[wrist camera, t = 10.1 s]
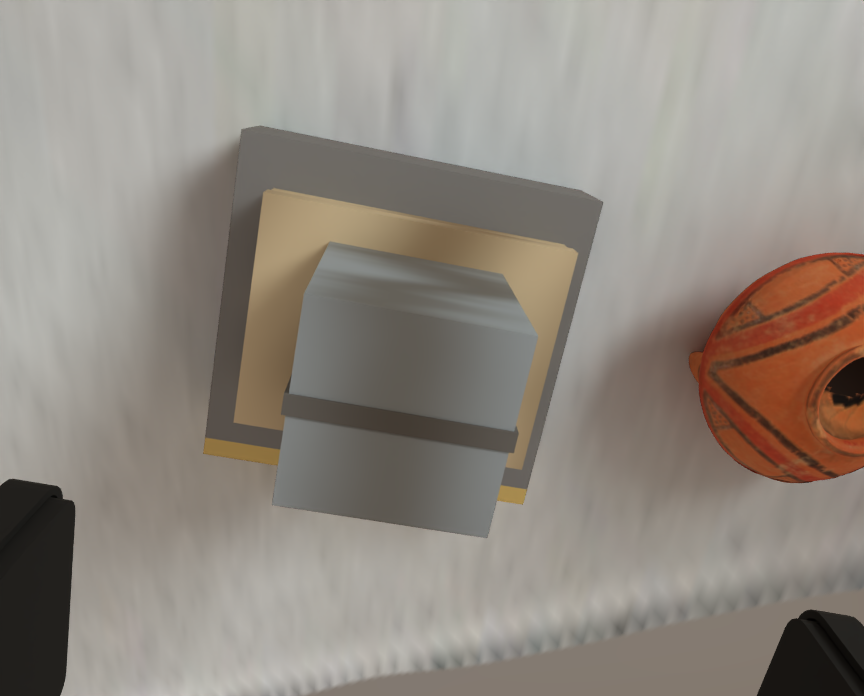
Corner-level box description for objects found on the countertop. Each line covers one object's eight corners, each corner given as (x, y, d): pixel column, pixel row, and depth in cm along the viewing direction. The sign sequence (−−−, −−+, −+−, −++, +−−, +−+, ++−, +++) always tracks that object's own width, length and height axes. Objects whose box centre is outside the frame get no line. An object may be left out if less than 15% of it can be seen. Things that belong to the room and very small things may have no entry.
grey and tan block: (564, 241, 24) (641, 309, 16) (513, 443, 26) (560, 587, 18) (274, 184, 23) (210, 227, 15) (245, 399, 25) (177, 531, 17)
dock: (581, 190, 26) (603, 201, 23) (511, 464, 29) (522, 504, 26) (259, 125, 25) (241, 129, 22) (223, 417, 28) (203, 453, 25)
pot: (691, 210, 26) (842, 251, 20) (861, 251, 29) (1039, 299, 23) (622, 421, 28) (738, 517, 22) (785, 442, 31) (930, 533, 25)
